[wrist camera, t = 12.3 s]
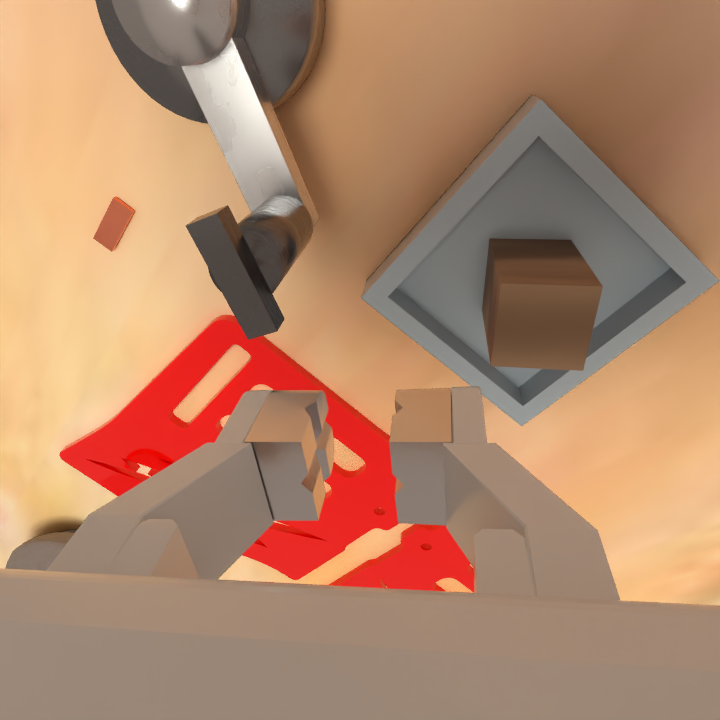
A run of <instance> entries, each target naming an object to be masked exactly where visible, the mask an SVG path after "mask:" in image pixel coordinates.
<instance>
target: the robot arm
mask: <svg viewBox="0 0 720 720" xmlns="http://www.w3.org/2000/svg"><path fill="white" fill-rule="evenodd" d="M451 402H452V407H451ZM395 408H396V414H395V415H393V417H392V425H391V432H390V440H389V444H390V454H391V464H392V474H393V475H394V476H395V477H396V487H395V501H396V509H397V517H398V523H408V524H426V525H444V526H446V528H447V529H448V531H449V532H450V534H451V535H452V537H453V538H454V540H455V541H456V543H457V544H458V546H459V547H460V548H461V550H462V551H463V553H464V554H465V556H466V557H467V559H468V560H469V562H470V563H471V565H472V566H473V568H474V593H465V592H446V591H428V590H409V589H390V588H372V587H352V586H333V585H313V584H294V583H274V582H254V581H235V580H217V579H218V578H219V577H220V576H221V575H222V574H223V573H224V572H225V571H226V570H227V569H228V568H229V567H230V566H231V565H232V564H233V563H234V562H235V561H236V560H237V559H238V558H239V557H240V556H241V555H242V554H243V553H244V552H245V551H246V550H247V549H248V548H249V547H250V546H251V545H252V544H253V543H254V542H255V541H256V540H257V539H258V538H259V537H260V536H261V535H262V534H263V533H264V532H265V531H266V530H267V529H268V528H269V527H270V526H271V525H272V524H273V521H318V520H319V517H320V513H321V509H322V506H323V502H324V498H325V495H326V491H325V486H324V481H325V480H326V479H327V478H328V477H330V476H331V471H332V467H333V461H334V437H333V431H332V427H331V426H330V425H329V424H328V423H327V422H325V419H326V416H327V413H328V404H327V399H326V395H325V393H324V392H323V391H322V390H273V391H271V390H256V391H247V392H245V393H244V394H243V395H242V397H241V399H240V400H239V402H238V404H237V405H236V407H235V409H234V410H233V412H232V414H231V416H230V417H229V419H228V421H227V422H226V424H225V426H224V427H223V429H222V431H221V432H220V434H219V436H218V438H217V439H216V441H215V443H206V444H204V445H202V446H201V447H199V448H197V449H196V450H194V451H193V452H191V453H189V454H188V455H186V456H184V457H183V458H181V459H179V460H178V461H176V462H174V463H173V464H171V465H170V466H168V467H166V468H165V469H163V470H161V471H160V472H158V473H156V474H155V475H153V476H152V477H150V478H148V479H147V480H145V481H143V482H142V483H140V484H138V485H137V486H135V487H133V488H132V489H130V490H129V491H127V492H125V493H124V494H122V495H120V496H119V497H117V498H115V499H114V500H112V501H111V502H109V503H107V504H106V505H104V506H102V507H101V508H99V509H97V510H96V511H94V512H92V513H91V514H89V515H88V517H87V518H86V519H85V521H84V522H83V523H82V524H81V526H80V527H79V528H78V530H77V531H76V532H75V534H74V535H73V536H72V537H71V539H70V540H69V541H68V543H67V544H66V545H65V547H64V548H63V549H62V550H61V552H60V553H59V554H58V556H57V557H56V558H55V560H54V561H53V562H52V563H51V565H50V566H49V567H48V569H47V570H46V571H40V570H21V569H1V568H0V720H720V606H719V605H699V604H680V603H660V602H640V601H620V598H619V595H618V592H617V588H616V585H615V582H614V579H613V576H612V573H611V570H610V567H609V564H608V561H607V558H606V554H605V551H604V548H603V545H602V542H601V539H600V536H599V533H598V530H597V529H595V528H594V527H593V526H592V525H591V524H590V523H588V522H587V521H586V520H585V519H584V518H583V517H581V516H580V515H579V514H578V513H577V512H576V511H574V510H573V509H572V508H571V507H570V506H569V505H567V504H566V503H565V502H564V501H563V500H562V499H560V498H559V497H558V496H557V495H556V494H555V493H553V492H552V491H551V490H550V489H549V488H548V487H546V486H545V485H544V484H543V483H542V482H541V481H539V480H538V479H537V478H536V477H535V476H534V475H532V474H531V473H530V472H529V471H528V470H527V469H525V468H524V467H523V466H522V465H521V464H520V463H518V462H517V461H516V460H515V459H514V458H513V457H511V456H510V455H509V454H508V453H507V452H506V451H504V450H503V449H502V448H501V447H500V446H499V445H497V444H496V443H487V437H486V428H485V420H484V411H483V402H482V394H481V388H480V387H479V386H471V387H452V391H451V388H435V389H409V390H396V396H395Z"/></svg>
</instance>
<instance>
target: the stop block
mask: <svg viewBox="0 0 720 720" xmlns="http://www.w3.org/2000/svg"><path fill="white" fill-rule="evenodd" d="M602 289H603V286H602V284H601V283H600V281H599V280H598V278H597V277H596V276H595V274H594V273H593V271H592V270H591V268H590V267H589V265H588V264H587V262H586V261H585V259H584V258H583V257H582V255H581V254H580V252H579V251H578V249H577V248H576V246H575V245H574V243H573V242H572V240H553V239H494V238H489V247H488V257H487V266H486V275H485V285H484V294H483V304H482V314H483V320H484V327H485V333H486V340H487V346H488V353H489V359H490V366H496V367H516V368H537V369H557V370H577V371H583V370H584V365H585V361H586V357H587V352H588V348H589V344H590V340H591V335H592V331H593V327H594V323H595V318H596V314H597V310H598V306H599V301H600V297H601V293H602Z"/></svg>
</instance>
